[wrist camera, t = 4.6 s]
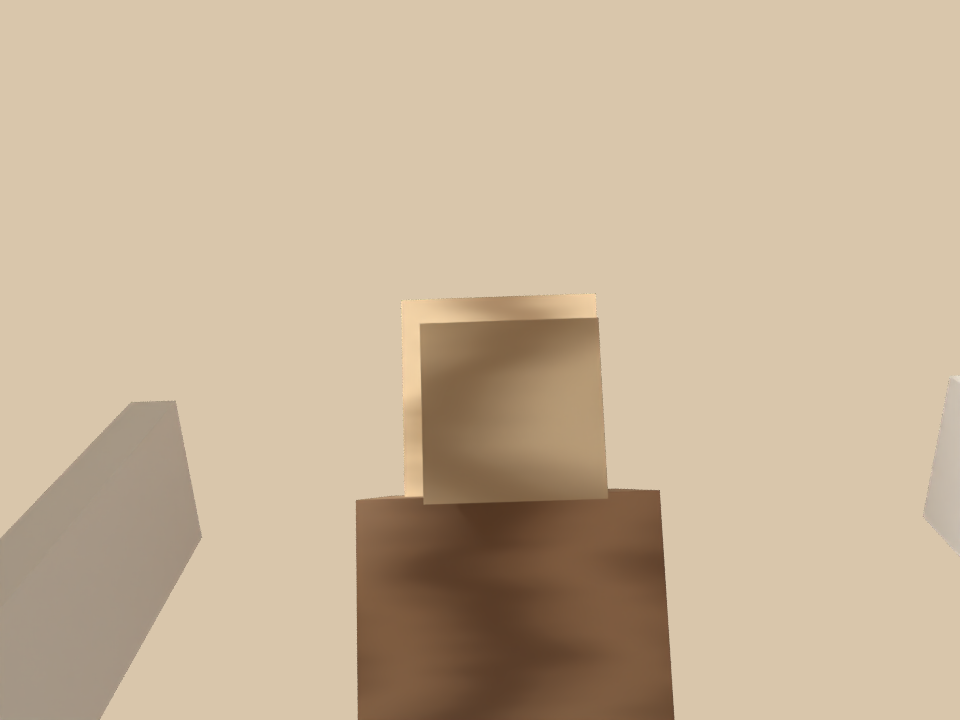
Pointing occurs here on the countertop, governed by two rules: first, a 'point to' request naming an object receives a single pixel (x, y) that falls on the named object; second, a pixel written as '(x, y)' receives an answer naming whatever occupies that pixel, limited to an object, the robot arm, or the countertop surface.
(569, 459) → the tan tall block
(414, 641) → the walnut post
